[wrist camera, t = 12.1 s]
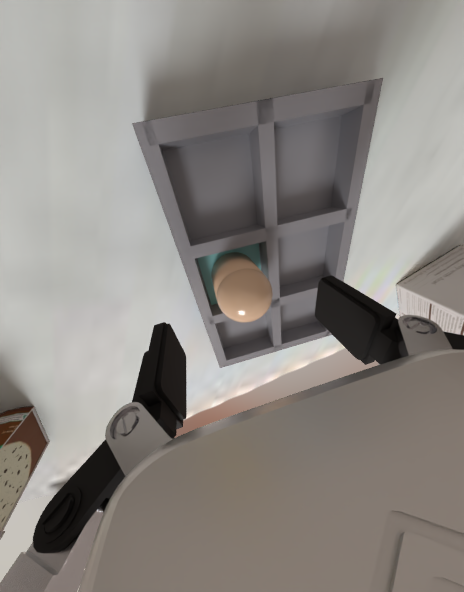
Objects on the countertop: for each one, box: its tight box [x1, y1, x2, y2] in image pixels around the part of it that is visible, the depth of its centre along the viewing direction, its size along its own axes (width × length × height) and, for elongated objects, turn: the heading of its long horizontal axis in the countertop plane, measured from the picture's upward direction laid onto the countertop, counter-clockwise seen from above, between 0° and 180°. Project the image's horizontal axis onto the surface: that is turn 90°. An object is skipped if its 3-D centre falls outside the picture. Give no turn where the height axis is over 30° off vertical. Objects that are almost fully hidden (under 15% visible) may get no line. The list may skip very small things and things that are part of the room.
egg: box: [211, 252, 273, 323], centre depth 14 cm, size 4×4×6 cm
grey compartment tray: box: [132, 78, 383, 368], centre depth 17 cm, size 22×15×2 cm
